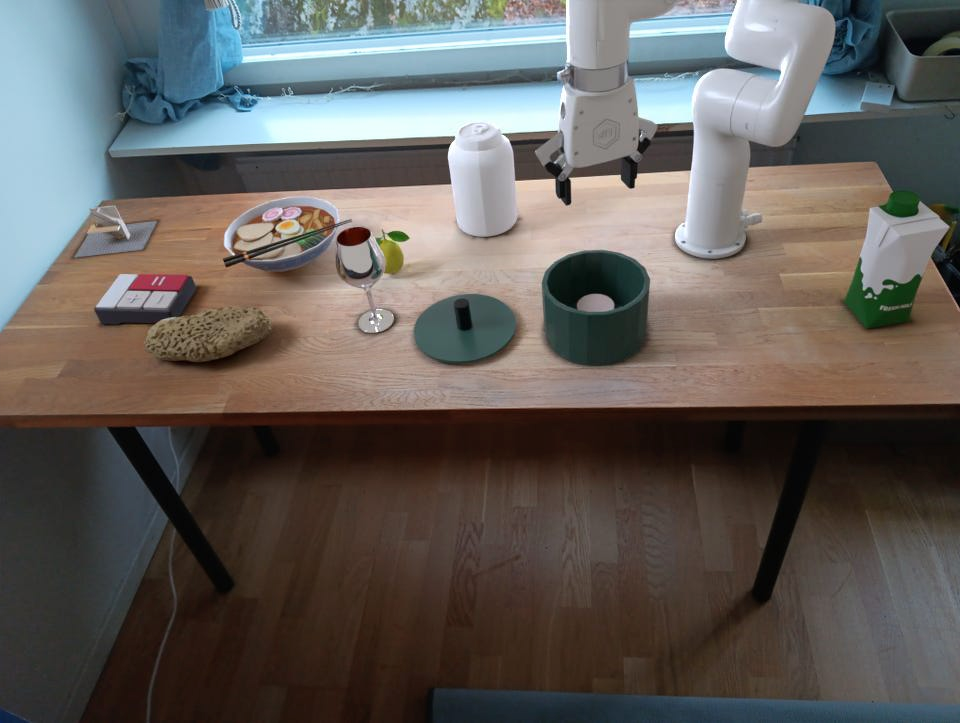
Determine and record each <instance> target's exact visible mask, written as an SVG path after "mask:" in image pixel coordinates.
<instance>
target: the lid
mask: <svg viewBox="0 0 960 723" xmlns="http://www.w3.org/2000/svg"><path fill="white" fill-rule="evenodd" d="M516 332H517V317H516V314H515V313H514V311H513V310H512V308H511V307H510V306H509V305H508V304H507V303H506V302H504V301H503V300H501V299H499V298H497V297H494V296H492V295H491V296H490V295H486V294H481V293H463V294H462V293H461V294H456V295H452V296H448V297H445V298H442V299H440V300H438V301H436V302H435V303H433V304H431V305H430V306H428V307H427V308H425V309H424V310H423V311H422V312H421V314H420V315H419V316H418V318H417V320H416V322H415V324H414V327H413V337H414V341H415V344H416V346H417V348H419V350H420V351H421V352H422V353H423V354H424V355H426V356H427V357H429V358H431V359H432V360H435V361H437V362H440V363H444V364H450V365H451V364H452V365H464V364H466V365H468V364H473V363H477V362H481V361H485V360H488V359H490V358H492V357H494V356H496V355H497V354H499V353H501V352H502V351H503V350H504V349H506V348H507V347H508V345H510V343H511V342H512V341H513V339H514V337H515V335H516Z"/></svg>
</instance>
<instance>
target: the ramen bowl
mask: <svg viewBox="0 0 960 723" xmlns="http://www.w3.org/2000/svg"><path fill="white" fill-rule="evenodd" d="M352 222H353V220H352V218H350V219H346V220H343V221H341V220H340V216H339V210H338V208H337V207H336V206H335V205H333V203H330V201H328V200H326V199H322V198H318V197H314V196H311V195H310V196H305V195H304V196H287V197H283V198H278V199H272V200H267V201H266V202H264V203H260V204H259V205H256V206H254V207H252V208H250V209H247V210H246V211H245V212H243V213H242V214H241V215H239V216H238V217H236V218H235V219H234V220H232V221H231V223H230V225H229V226H228V228H227V229H226V230H225V232H224V234H223V247H224V248H225V249H226V250H227V251H228V252H229V253H230V256H226V257H224V258H222V261H223V264H224V267H225V268H229V267H233V266H235V265H237V264H241V263H242V264H244V265H246V266H248V267H251V268H252V269H253V268H254V269H257V270H260V271H263V272H287V271H292V270H297V269H301V268H302V267H304V266H307V265H309V264H311V263H312V262H314V261H316V260H317V259H318V258H319V257H321V255H323V254H324V253H325V252H327V250H328V249H329V247H330V246H331V243H332V241H333V239H334V237H335V235H336V233H337V230H338V228H339V227H341V226H343V225H346V224H349V223H352Z"/></svg>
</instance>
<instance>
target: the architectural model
mask: <svg viewBox="0 0 960 723" xmlns="http://www.w3.org/2000/svg"><path fill="white" fill-rule="evenodd" d="M89 211H90V214H91V215H92V217H93V219H94V220H95V221H92V223H93V224H91V225H90V227H89V228H88V230H87V231H86V234H87V236H86V238H85V239H84V241H83V242H82V244H81V245H80V247H79V249H78V250H77V252H76V254H75V255H74V257H73V258H83V257H91V256H99V255H100V256H101V255H108V254H109V255H110V254H118V253H126V252H134V251H135V252H136V251H143V250H144V248H145V247H146V245H147V243H148V241H149V239H150V237H151V235H152V233H153V231H154V229H155V227H156V225H157V222H158V220H153V221H147V222H146V221H144V222H136V223H135V222H134V223H128V224H126V223H125V222H124V220H123V219H122V216H121V215H120V212H119V210H118V209H117V207H116V205H107V206H99V207H91V208H89Z"/></svg>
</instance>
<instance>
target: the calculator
mask: <svg viewBox="0 0 960 723" xmlns="http://www.w3.org/2000/svg"><path fill="white" fill-rule="evenodd" d="M196 290H197V286H196V282H195V281H194V278H193V276H192V275H188V274H167V273H166V274H165V273H163V274H162V273H160V274H159V273H139V274H135V273H134V274H133V273H132V274H131V273H120V274H119V275H118V276H117V277H116V279H115V280H114V281H113V283H112V284H111V285H110V286H109V288H108V289H107V291H105V293H104V294H103V296H102V297H101V298H100V300H99V301H98V302H97V304H96V305H95V307H94V308H93V311H94V314H95V315H96V317H97V318H98V320H99V323H100V324H102V325H121V324H122V323H134V324H135V323H136V324H156V323H157V322H159V321H160V320H162V319H167V318H172V317H176V318H177V317H181V314H182V313H183V311H184V309H185V308H186V306H187V305H188V303H189V301H190V300H191V298H192V296H193V295H194V293H195V292H196Z"/></svg>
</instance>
